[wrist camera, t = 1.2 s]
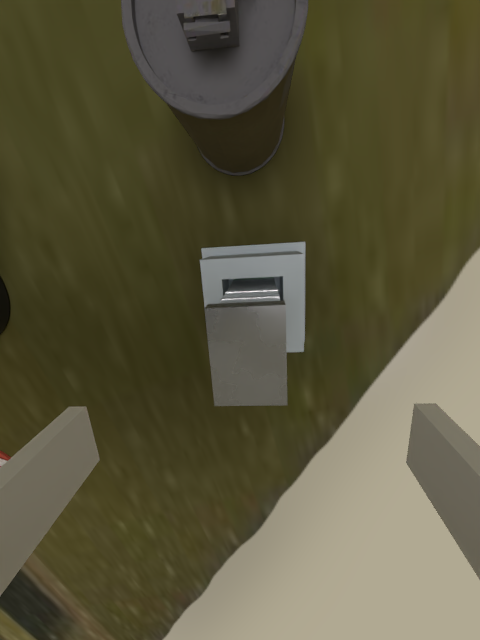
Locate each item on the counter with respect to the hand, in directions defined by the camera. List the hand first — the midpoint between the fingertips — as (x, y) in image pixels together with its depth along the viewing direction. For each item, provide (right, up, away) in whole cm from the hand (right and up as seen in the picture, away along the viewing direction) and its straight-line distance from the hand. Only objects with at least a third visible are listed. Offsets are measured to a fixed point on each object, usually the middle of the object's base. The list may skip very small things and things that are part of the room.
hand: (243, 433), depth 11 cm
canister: (0, +27, +21) cm, 34 cm away
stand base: (+2, +8, +26) cm, 27 cm away
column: (+2, +8, +25) cm, 26 cm away
